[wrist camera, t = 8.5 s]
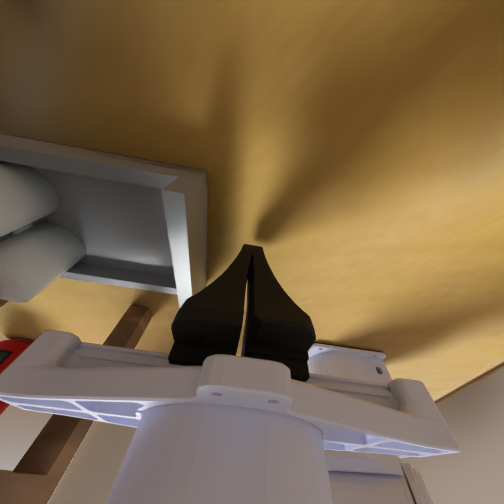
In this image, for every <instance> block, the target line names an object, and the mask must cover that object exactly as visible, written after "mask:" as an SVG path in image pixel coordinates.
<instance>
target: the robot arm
mask: <svg viewBox="0 0 504 504" xmlns="http://www.w3.org/2000/svg"><path fill="white" fill-rule="evenodd" d="M247 279H248V284H247V312H246V320H245V329H244V337H243V345H242V352H241V356H236V351H237V347H238V343H239V338H240V333H241V329H242V323H243V314H244V301H245V290H246V283H247ZM171 329H172V334H173V338H174V344H173V347H172V349H171V352H170V354H166V353H159V352H151V351H144V350H137V349H129V348H122V347H114V346H107V345H100V344H92V343H85V342H81V340H80V338H79V337H78V336H76V335H74V334H72V333H68V332H61V331H53V330H45V331H44V332H43V333H42V334H41V335H40V336H39V337H38V338H37V339H36V340H35V341H34V342H33V343H32V344H31V345H30V346H29V347H28V348H27V349H26V350H25V351H24V352H23V353H22V354H21V355H20V356H19V357H18V358H16V359H15V360H14V361H13V362H12V363H11V364H10V365H9V366H8V367H7V368H6V369H5V370H4V371H3V372H2V373H1V374H0V400H1V401H3V402H6V403H8V404H11V405H13V406H16V407H18V408H21V409H23V410H29V411H37V412H45V413H52V414H58V415H65V416H71V417H77V418H83V419H89V420H95V421H101V422H106V423H112V424H118V425H124V426H129V427H135V428H137V429H136V431H135V434H134V436H133V438H132V441H131V443H130V446H129V448H128V451H127V453H126V455H125V458H124V460H123V463H122V465H121V467H120V470H119V472H118V475H117V477H116V479H115V482H114V484H113V487H112V489H111V491H110V494H109V496H108V499H107V501H106V504H433V502H432V500H431V498H430V496H429V493H428V491H427V489H426V486H425V484H424V481H423V479H422V477H421V474H420V473H419V472H418V471H417V470H416V469H414V468H412V466H411V464H409V463H403V465H402V463H401V460H400V458H406V457H409V456H411V457H426V456H434V455H441V454H449V453H457V452H461V448H460V446H459V444H458V442H457V441H456V439H455V437H454V436H453V434H452V432H451V431H450V429H449V427H448V425H447V424H446V422H445V420H444V418H443V417H442V415H441V413H440V411H439V410H438V408H437V406H436V405H435V403H434V401H433V399H432V398H431V396H430V394H429V392H428V391H427V389H426V387H425V386H424V384H423V382H421V381H418V380H411V379H404V378H398V379H394V380H392V378H391V376H390V374H389V372H388V370H387V368H386V365H385V363H384V361H383V360H384V359H385V358H386V355H385V353H381V352H374V351H367V350H360V349H353V348H346V347H339V346H332V345H325V344H318V343H315V344H314V342H315V340H316V335H315V331H314V327H313V324H312V321H311V319H310V317H309V316H308V315H307V314H306V313H305V312H304V311H303V310H302V309H301V308H299V307H298V306H297V305H296V304H295V303H294V302H293V301H292V299H291V298H290V297H289V296H288V295H287V294H286V292H285V291H284V290H283V288H282V287H281V286H280V284H279V283H278V281H277V280H276V278H275V276H274V275H273V273H272V271H271V269H270V267H269V265H268V262H267V260H266V257H265V255H264V252H263V248H262V247H260V246H254V245H247V244H244V245H243V247H242V249H241V251H240V253H239V254H238V256H237V257H236V259H235V260H234V261H233V263H232V264H231V265H230V266H229V267H228V268H227V270H226V271H225V272H224V273H223V274H222V275H221V276H219V277H218V278H217V279H216V280H215V281H214V282H212V283H211V284H210V285H208V286H207V287H205V288H204V289H203V290H201V291H200V292H198V293H196V294H195V295H193V296H191V297H189V298H188V299H186V301H185V302H184V303H183V305H182V306H181V308H180V309H179V311H178V313H177V314H176V317H175V319H174V321H173V323H172V328H171ZM403 466H404V468H403ZM404 469H405V470H404ZM405 472H406V473H405ZM406 475H407V476H406Z"/></svg>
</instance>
